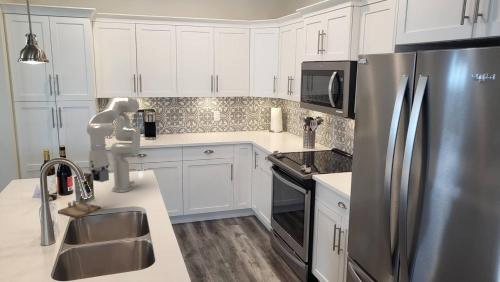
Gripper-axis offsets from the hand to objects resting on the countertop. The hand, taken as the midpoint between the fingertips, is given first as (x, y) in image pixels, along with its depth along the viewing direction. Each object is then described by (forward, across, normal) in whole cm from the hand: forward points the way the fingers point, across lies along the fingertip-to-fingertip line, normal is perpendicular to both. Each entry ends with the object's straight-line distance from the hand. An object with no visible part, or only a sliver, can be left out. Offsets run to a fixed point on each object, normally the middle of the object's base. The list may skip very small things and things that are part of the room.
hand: (100, 178), depth 207 cm
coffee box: (+18, -5, -19) cm, 26 cm away
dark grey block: (+1, 0, 0) cm, 1 cm away
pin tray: (+18, +8, -8) cm, 21 cm away
